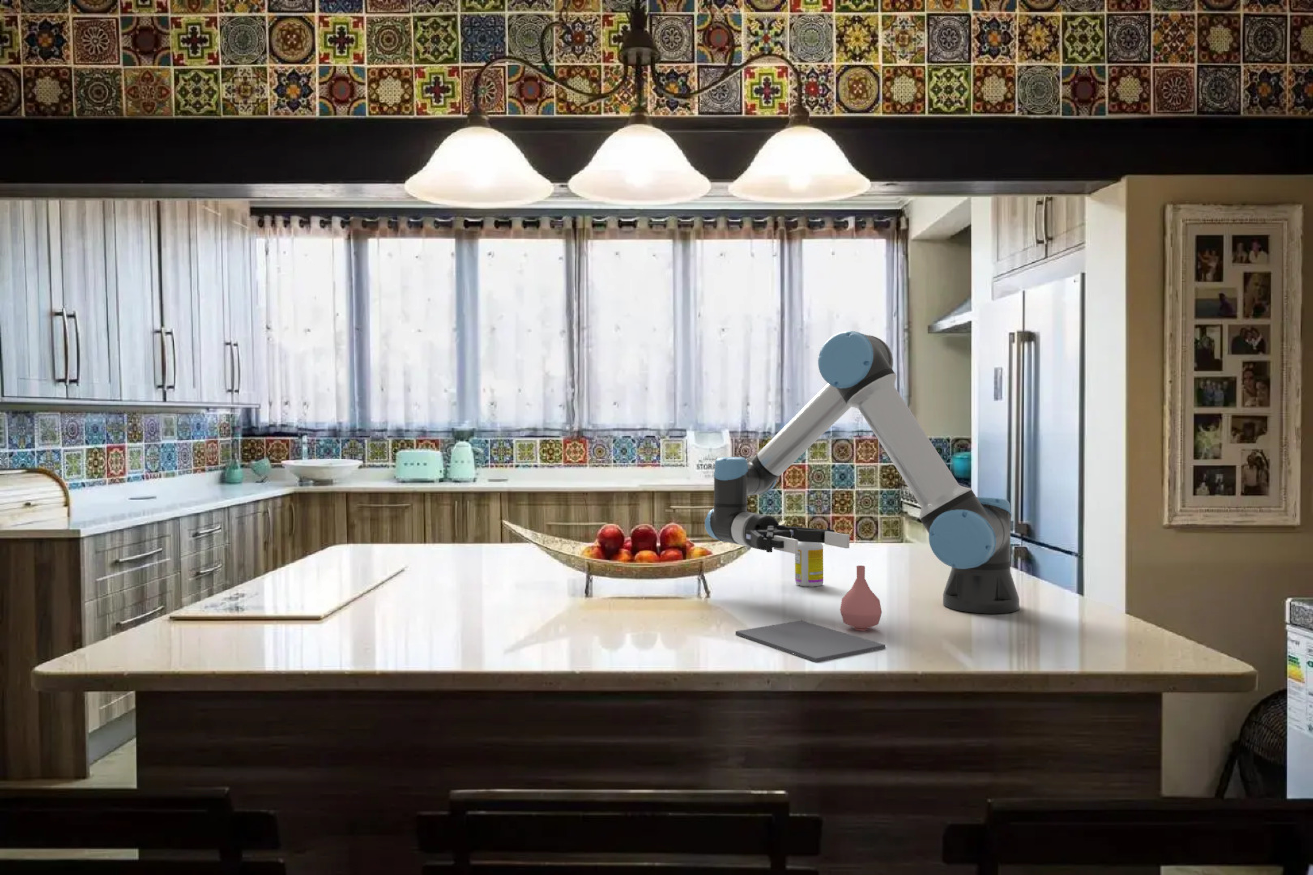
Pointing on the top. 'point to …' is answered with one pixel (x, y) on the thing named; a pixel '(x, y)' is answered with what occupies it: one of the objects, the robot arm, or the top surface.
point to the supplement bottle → (809, 564)
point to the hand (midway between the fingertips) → (822, 544)
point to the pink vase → (860, 604)
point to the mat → (810, 640)
